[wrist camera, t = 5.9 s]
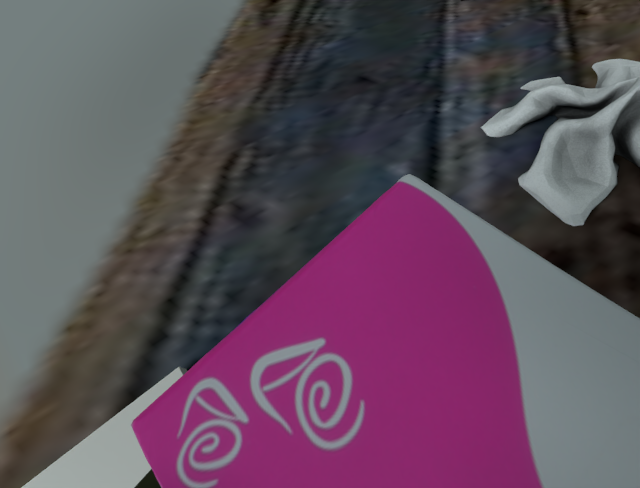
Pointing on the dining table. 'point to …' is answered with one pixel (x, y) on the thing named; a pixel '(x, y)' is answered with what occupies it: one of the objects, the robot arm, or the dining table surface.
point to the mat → (106, 451)
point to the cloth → (578, 137)
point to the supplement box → (411, 369)
